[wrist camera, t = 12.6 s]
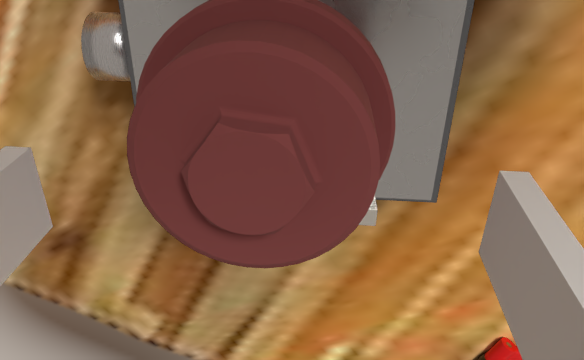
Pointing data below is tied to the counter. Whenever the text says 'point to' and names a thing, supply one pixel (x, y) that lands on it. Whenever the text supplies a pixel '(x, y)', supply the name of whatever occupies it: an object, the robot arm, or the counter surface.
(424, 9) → the motor housing
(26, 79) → the counter surface
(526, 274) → the robot arm
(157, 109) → the mechanical component
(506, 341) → the tow hook
